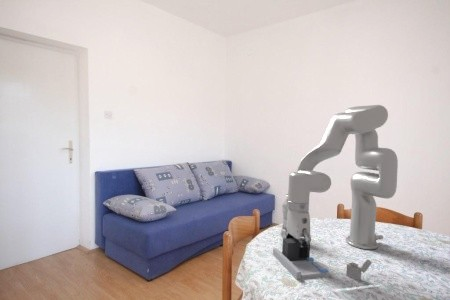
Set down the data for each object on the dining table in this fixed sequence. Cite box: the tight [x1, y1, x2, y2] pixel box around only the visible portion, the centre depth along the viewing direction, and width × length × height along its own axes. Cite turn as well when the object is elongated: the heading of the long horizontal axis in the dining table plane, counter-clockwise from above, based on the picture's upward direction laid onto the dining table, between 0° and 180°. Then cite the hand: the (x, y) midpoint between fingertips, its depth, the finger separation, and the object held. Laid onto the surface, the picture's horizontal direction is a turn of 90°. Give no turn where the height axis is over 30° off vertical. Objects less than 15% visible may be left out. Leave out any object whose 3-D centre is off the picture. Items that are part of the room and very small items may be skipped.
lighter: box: [346, 259, 373, 282], centre depth 85 cm, size 7×2×8 cm, turn 39°
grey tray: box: [272, 247, 330, 281], centre depth 94 cm, size 12×18×3 cm, turn 14°
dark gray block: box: [281, 238, 311, 261], centre depth 98 cm, size 9×4×7 cm, turn 104°
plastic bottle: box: [280, 193, 295, 240], centre depth 118 cm, size 6×7×20 cm
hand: (295, 251), depth 98 cm, fingers open, 9 cm apart
